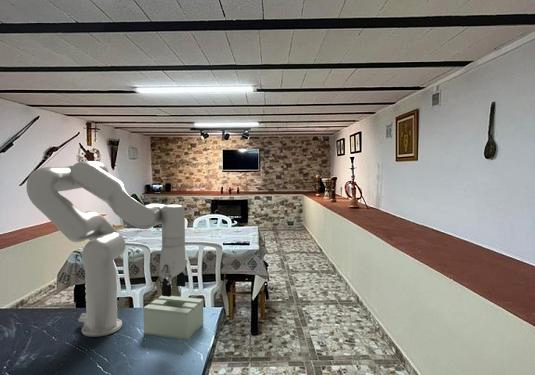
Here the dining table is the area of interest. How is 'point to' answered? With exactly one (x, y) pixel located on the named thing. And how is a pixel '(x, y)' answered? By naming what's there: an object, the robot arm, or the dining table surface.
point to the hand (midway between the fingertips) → (174, 290)
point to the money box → (173, 317)
